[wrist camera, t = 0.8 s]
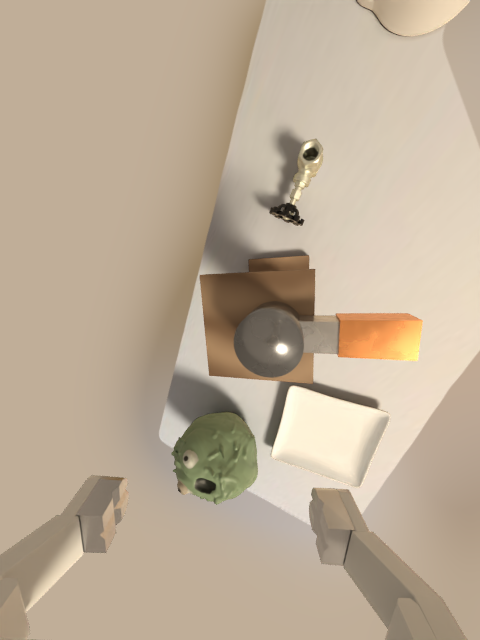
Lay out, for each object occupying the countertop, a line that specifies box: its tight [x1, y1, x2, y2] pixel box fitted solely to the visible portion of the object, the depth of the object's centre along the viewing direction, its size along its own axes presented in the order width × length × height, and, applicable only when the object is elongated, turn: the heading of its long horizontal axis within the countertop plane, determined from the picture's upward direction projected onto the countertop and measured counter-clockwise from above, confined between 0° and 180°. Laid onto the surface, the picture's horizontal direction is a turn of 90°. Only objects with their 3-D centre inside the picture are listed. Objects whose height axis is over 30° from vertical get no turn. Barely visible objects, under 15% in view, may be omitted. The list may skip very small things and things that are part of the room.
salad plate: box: [271, 385, 391, 488], centre depth 52 cm, size 21×21×3 cm
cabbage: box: [172, 412, 258, 505], centre depth 51 cm, size 16×19×20 cm
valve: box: [269, 139, 323, 226], centre depth 40 cm, size 7×7×12 cm
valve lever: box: [234, 301, 423, 378], centre depth 20 cm, size 6×15×5 cm, turn 93°
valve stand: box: [200, 256, 315, 384], centre depth 37 cm, size 16×12×26 cm
